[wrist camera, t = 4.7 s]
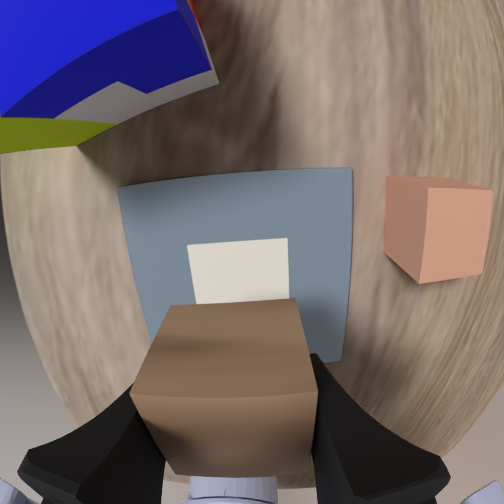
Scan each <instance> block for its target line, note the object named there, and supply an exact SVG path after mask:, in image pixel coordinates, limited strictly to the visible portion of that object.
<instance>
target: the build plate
mask: <svg viewBox="0 0 504 504" xmlns="http://www.w3.org/2000/svg"><path fill="white" fill-rule="evenodd" d="M117 189H118V196H119V202H120V208H121V215H122V220H123V226H124V232H125V237H126V242H127V247H128V252H129V257H130V261H131V266H132V270H133V275H134V279H135V283H136V287H137V291H138V295H139V299H140V303H141V307H142V310H143V314H144V318H145V321H146V325H147V328H148V331H149V335H150V338H151V341H152V342H153V340H154V338H155V336H156V334H157V332H158V330H159V328H160V326H161V323H162V321H163V319H164V317H165V315H166V313H167V311H168V309H169V307H170V305H189V304H211V303H230V302H246V301H261V300H275V299H287V298H295V299H296V303H297V307H298V311H299V315H300V318H301V322H302V326H303V330H304V334H305V338H306V342H307V347H308V351H309V354H312V353H316V354H317V355H318V356H319V357H320V359H321V360H322V362H323V363H329V362H336V361H341V359H342V352H343V344H344V335H345V327H346V317H347V307H348V295H349V282H350V266H351V246H352V168H304V169H281V170H263V171H248V172H236V173H224V174H213V175H203V176H194V177H185V178H177V179H169V180H162V181H154V182H147V183H141V184H134V185H128V186H122V187H118V188H117Z"/></svg>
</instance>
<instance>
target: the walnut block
mask: <svg viewBox="0 0 504 504" xmlns="http://www.w3.org/2000/svg"><path fill="white" fill-rule="evenodd" d="M129 394H130V396H131V398H132V400H133V402H134V404H135V406H136V408H137V410H138V412H139V414H140V416H141V417H142V419H143V421H144V423H145V425H146V427H147V428H148V430H149V432H150V434H151V436H152V437H153V439H154V441H155V442H156V444H157V446H158V447H159V449H160V451H161V452H162V454H163V456H164V457H165V459H166V460H167V462H168V463H169V465H170V467H171V468H172V470H173V471H174V473H175V474H177V475H187V476H200V477H221V478H255V477H276V476H289V475H299V474H308V468H309V462H310V455H311V448H312V441H313V433H314V425H315V417H316V408H317V398H318V388H317V384H316V380H315V376H314V371H313V367H312V363H311V359H310V355H309V351H308V347H307V342H306V338H305V334H304V330H303V326H302V322H301V318H300V315H299V311H298V307H297V303H296V299H295V298H287V299H275V300H261V301H246V302H230V303H211V304H189V305H170V307H169V309H168V311H167V313H166V315H165V317H164V319H163V321H162V323H161V326H160V328H159V330H158V332H157V334H156V336H155V338H154V340H153V342H152V344H151V347H150V349H149V351H148V353H147V355H146V357H145V359H144V362H143V364H142V366H141V368H140V370H139V373H138V375H137V377H136V379H135V382H134V384H133V386H132V388H131V391H130V393H129Z"/></svg>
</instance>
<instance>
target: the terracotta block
mask: <svg viewBox="0 0 504 504" xmlns="http://www.w3.org/2000/svg"><path fill="white" fill-rule="evenodd" d="M492 200H493V190H490V189H486V188H483V187H479V186H475V185H472V184H468V183H464V182H460V181H456V180H452V179H448V178H434V177H407V176H386V221H385V239H384V253H385V254H386V255H388V256H389V257H390V258H391V259H392V260H393V261H394V262H395V263H396V264H398V265H399V266H400V267H401V268H402V269H403V270H404V271H405V272H406V273H407V274H409V275H410V276H411V277H412V278H413V279H414V280H415V281H416V282H417V283H418V284H422V283H429V282H436V281H443V280H449V279H455V278H462V277H468V276H474V275H479V274H482V271H483V266H484V261H485V255H486V249H487V243H488V237H489V229H490V221H491V212H492Z"/></svg>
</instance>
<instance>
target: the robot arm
mask: <svg viewBox="0 0 504 504" xmlns="http://www.w3.org/2000/svg"><path fill="white" fill-rule="evenodd" d="M309 355H310V359H311V363H312V367H313V371H314V376H315V380H316V384H317V388H318V398H317V408H316V417H315V425H314V433H313V441H312V448H311V454H312V458H313V464H314V472H315V480H316V490H317V500H318V504H437V502H436V499H435V496H436V495H437V494H438V493H439V492H440V491H441V490H442V489H443V488H444V487H445V486H446V485H447V484H448V482H449V480H450V478H451V476H450V474H449V472H448V470H447V467H446V466H445V464H444V462H443V461H442V459H441V458H440V456H438V455H436V454H433V453H431V452H428V451H426V450H424V449H421V448H419V447H417V446H415V445H413V444H411V443H409V442H407V441H406V440H404V439H402V438H401V437H399V436H398V435H396V434H394V433H393V432H391V431H390V430H388V429H387V428H385V427H384V426H383V425H381V424H380V423H379V422H377V421H376V420H375V419H374V418H372V417H371V416H370V415H369V414H368V413H366V412H365V411H364V410H363V409H362V408H361V407H360V406H359V405H358V404H357V403H356V402H355V401H354V400H353V399H352V398H351V397H350V396H349V395H348V394H347V393H346V392H345V390H344V389H343V388H342V387H341V386H340V384H339V383H338V382H337V381H336V380H335V378H334V377H333V376H332V375H331V373H330V372H329V371H328V369H327V368H326V366H325V365H324V363H323V362H322V360H321V359H320V357H319V356H318V355H317V354H316V353H312V354H309ZM133 384H134V383H133ZM133 384H132V385H131V386H130V387H129V388H128V389H127V390H126V391H125V392H124V393H123V394H122V395H121V396H120V397H119V398H118V399H116V400H115V401H114V402H113V403H112V404H111V405H110V406H109V407H108V408H106V409H105V410H104V411H103V412H101V413H100V414H99V415H97V416H96V417H95V418H93V419H92V420H90V421H89V422H87V423H86V424H84V425H82V426H81V427H79V428H78V429H76V430H74V431H73V432H71V433H69V434H67V435H65V436H63V437H61V438H59V439H57V440H54V441H52V442H49V443H47V444H44V445H41V446H38V447H35V448H32V449H29V450H28V452H27V454H26V456H25V457H24V460H23V461H22V463H21V465H20V467H19V469H18V471H17V472H18V475H19V477H20V478H21V479H22V480H23V481H24V482H25V483H26V484H27V485H29V486H30V487H31V488H32V489H33V490H35V491H36V492H37V493H38V494H39V495H41V496H42V497H43V501H42V503H41V504H161V496H162V484H163V476H164V468H165V462H166V459H165V457H164V456H163V454H162V452H161V451H160V449H159V447H158V446H157V444H156V442H155V441H154V439H153V437H152V436H151V434H150V432H149V430H148V428H147V427H146V425H145V423H144V421H143V419H142V417H141V416H140V414H139V412H138V410H137V408H136V406H135V404H134V402H133V400H132V398H131V396H130V394H129V393H130V391H131V388H132V386H133ZM0 504H39V503H37V502H35V501H33V500H31V499H29V498H27V497H26V495H24V494H23V493H22V492H21V491H19V490H18V489H17V488H15V487H13V486H12V485H11V484H9V483H7V482H6V481H4V480H3V479H1V478H0ZM182 504H278V496H277V477H255V478H221V477H200V476H191V478H190V485H189V491H188V499H183V500H182ZM460 504H504V493H503V490H502V488H501V486H500V484H499V482H498V480H494V481H493V482H491V483H489V484H488V485H486V486H484V487H483V488H481V489H479V490H477V491H476V492H474V493H473V494H471V495H470V496H468V497H467V498H466V499H464V500H463V501H462V502H461V503H460Z"/></svg>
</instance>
